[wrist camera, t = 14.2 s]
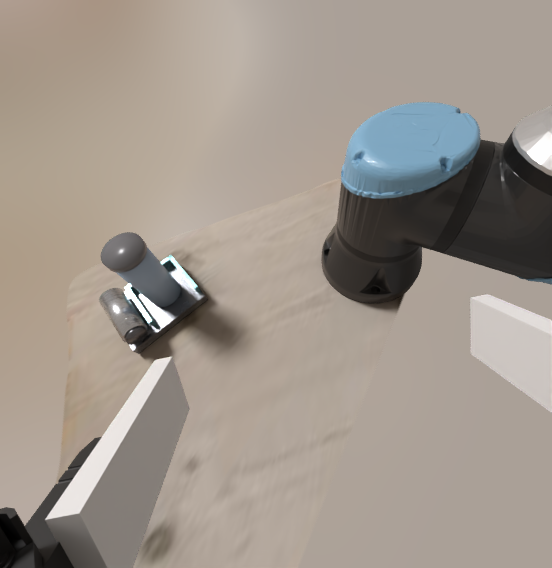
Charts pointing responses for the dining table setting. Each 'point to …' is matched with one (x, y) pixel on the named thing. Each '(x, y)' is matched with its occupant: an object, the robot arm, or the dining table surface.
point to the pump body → (140, 268)
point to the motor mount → (150, 309)
